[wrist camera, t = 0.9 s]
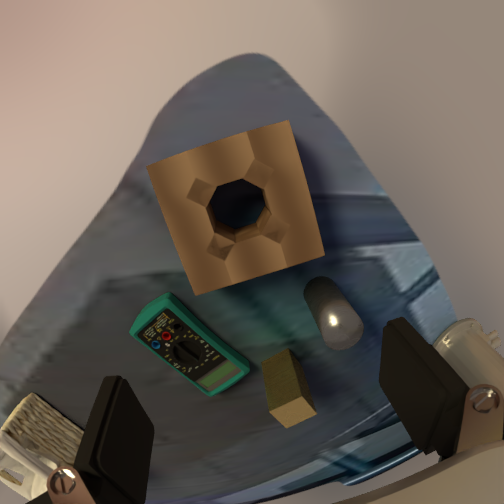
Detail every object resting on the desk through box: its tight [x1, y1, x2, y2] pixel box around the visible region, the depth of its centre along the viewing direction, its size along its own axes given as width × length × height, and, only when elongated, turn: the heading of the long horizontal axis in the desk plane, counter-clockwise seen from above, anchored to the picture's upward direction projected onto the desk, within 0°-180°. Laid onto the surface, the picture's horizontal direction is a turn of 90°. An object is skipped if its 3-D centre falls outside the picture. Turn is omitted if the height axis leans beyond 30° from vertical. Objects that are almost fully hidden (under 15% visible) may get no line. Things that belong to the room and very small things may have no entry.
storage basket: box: [0, 393, 84, 501], centre depth 36 cm, size 24×16×15 cm
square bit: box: [261, 348, 317, 428], centre depth 35 cm, size 4×4×9 cm
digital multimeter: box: [129, 292, 250, 397], centre depth 36 cm, size 7×15×3 cm, turn 41°
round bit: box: [304, 276, 364, 350], centre depth 32 cm, size 4×4×9 cm
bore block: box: [146, 120, 325, 296], centre depth 30 cm, size 13×13×5 cm
